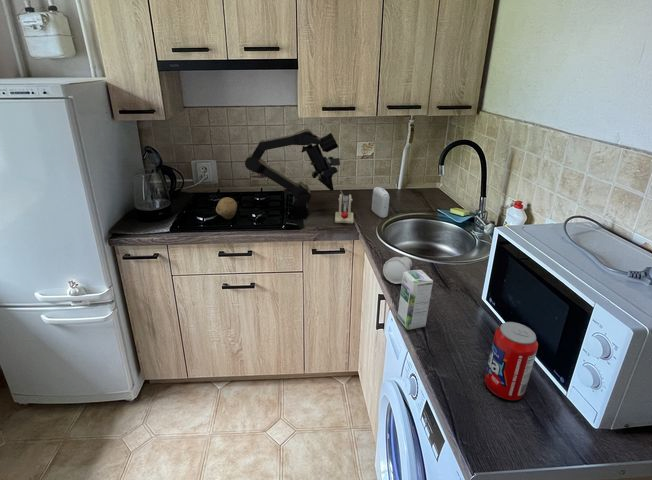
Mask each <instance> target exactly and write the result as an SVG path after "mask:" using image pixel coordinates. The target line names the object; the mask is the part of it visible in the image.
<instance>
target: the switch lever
mask: <svg viewBox="0 0 652 480" xmlns="http://www.w3.org/2000/svg"><path fill="white" fill-rule="evenodd" d="M348 201H349V195H342V205H343V211H341V212H342V213H341V217H342V218H343V219H346V218H347V217H348V213H347V212H348V211H347V205H348Z"/></svg>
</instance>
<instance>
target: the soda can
mask: <svg viewBox="0 0 652 480" xmlns="http://www.w3.org/2000/svg"><path fill="white" fill-rule="evenodd" d="M538 349H539V342H538V340H537V335H536V333H535V332H534V330H532V329H531V328H530V327H529V326H527V325H525V324H521V323H519V322H515V321H505V322H503V323H502V324H501V325H500V326H499V327H497V328H496V329H495V331H494V336H493V340H492V344H491V349H490V353H489V356H488V362H487V364H486V365H487V366H486V370H485V373H484V384H485V386H486V387H487V389H488V390H489V391H490V392H492V394H494V395H495V396H497V397H499V398H501V399H504V400H507V401H518V400H521V399H523V398H524V396H525V394H526V391H527V387H528V384H529V381H530V377H531V373H532V370H533V367H534V363H535V360H536V356H537V353H538Z"/></svg>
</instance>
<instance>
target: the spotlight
mask: <svg viewBox="0 0 652 480" xmlns="http://www.w3.org/2000/svg"><path fill="white" fill-rule="evenodd" d="M412 267H413V261H412V259H410V258H409V257H408V256H401V257H400V256H393V257H391V258H390V259H388V260H387V261H385V263H384V264H383V268H382V273H383V276H384V278H385V279H386V280H387V281H388V282H390V284H395V285H398V284H402V279H403V272H406V271H412V270H411V268H412Z"/></svg>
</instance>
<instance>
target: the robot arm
mask: <svg viewBox="0 0 652 480" xmlns="http://www.w3.org/2000/svg"><path fill="white" fill-rule="evenodd" d="M288 146H302V149H301V153H305V152H306V154H307V156H308V158H309V161H310V165H311V166H312V167H313V168H314V170H313V171H312V172H311V177H312V179H317V181H319V182H320V183H321V184H323V186H324V187H326V188H327V189H328V190H329V191H331V192H332V191H334V184H333V179H332V178H333V176H334V175H335V174H337V173H338V172H339V171H338V169H337V166H341V160H340V157H335V158H334V156H328V157H327V156H325V155H324V154H323V152H324V153H329V152H331V151H333V150H336V149H338V148H339V145H338V143H337V141H336V138H335V137H334V135H333V133H332V132H329V133H327V134H325V135H323V136H321V137H320V136H317V135H316V134H314V132H313V131H312V130H311V129H308V128H305V129H302V130H298V131H297V132H295V133H293V134H289V135H284V136H279V137H274V138H269V139H261V140H260V141H259V142H258V144H257V146H256V148H255V149H254V150H253V152H252V153H250V154H249V155H247V157H246V159H245V161H244V165H245V168H246V169H247V170H248V171H250V172H253V173H256V174H261V175H263V176H265V177H266V178H268V179H269V180H271V181H272V182H274V183H276V184H277V185H279V186H280V187H282V188H284V189H285V190H287V191H288V192H290V193H291V195H292V204H291V206H292V207H291V217H290V218H291V219H292V220H307V217H309V206H308V202H310V201H311V198H312V193H311V192H312V191H311V188H310V187H309V185H308V184H305V183H304V182H303V181H302V180H300V181H299V182H295V181H293V180H291V179H290V178H289V177H287V176H285V175H284V174H282V173H280V172H279V171H277V170H276V169H274V168H272V167H271V166H270V165H269V164H267V163H266V162H265V160H264V159H262V158H263V155H264V153H265V152H266V151H269V150H273V149H279V148H285V147H288ZM317 177H318V178H317Z"/></svg>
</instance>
